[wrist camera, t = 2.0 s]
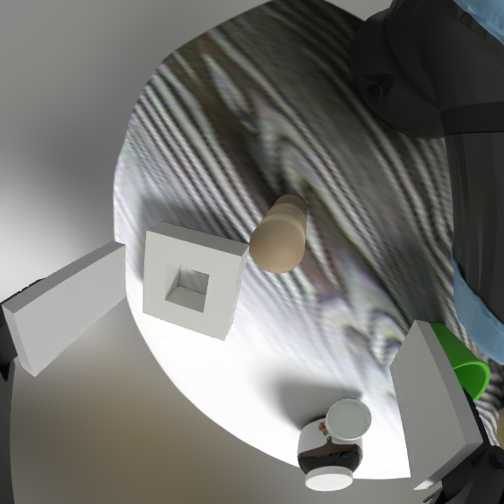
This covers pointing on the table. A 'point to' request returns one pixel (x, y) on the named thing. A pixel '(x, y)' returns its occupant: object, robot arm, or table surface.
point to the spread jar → (333, 445)
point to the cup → (463, 362)
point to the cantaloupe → (501, 429)
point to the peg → (280, 235)
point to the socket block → (199, 259)
